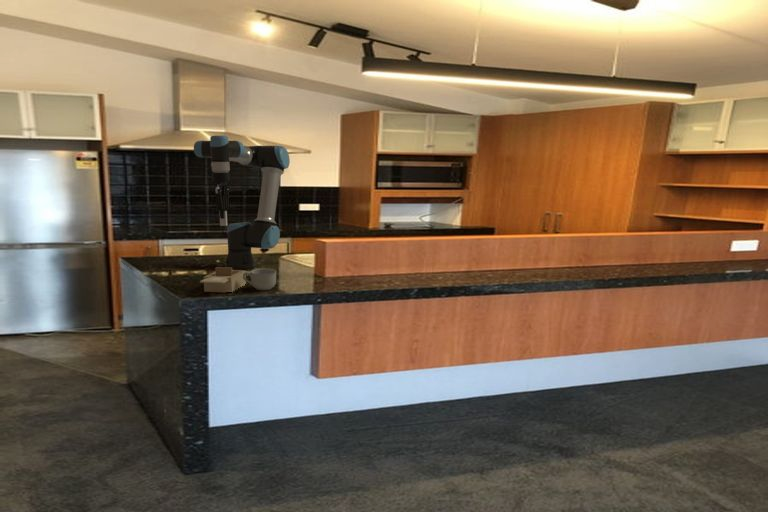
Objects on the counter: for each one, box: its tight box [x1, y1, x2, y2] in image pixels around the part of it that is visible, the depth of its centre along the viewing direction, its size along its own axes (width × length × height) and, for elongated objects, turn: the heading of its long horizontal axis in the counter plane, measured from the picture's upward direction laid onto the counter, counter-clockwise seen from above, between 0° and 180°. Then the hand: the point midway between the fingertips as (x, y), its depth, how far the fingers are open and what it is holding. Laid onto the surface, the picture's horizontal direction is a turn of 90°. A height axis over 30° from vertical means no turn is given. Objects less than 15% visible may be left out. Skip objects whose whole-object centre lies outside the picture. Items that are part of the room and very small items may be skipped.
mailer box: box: [203, 269, 247, 293], centre depth 227 cm, size 16×12×6 cm
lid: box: [199, 266, 233, 284], centre depth 219 cm, size 14×10×4 cm
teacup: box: [243, 268, 277, 291], centre depth 226 cm, size 14×11×8 cm
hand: (223, 225), depth 234 cm, fingers closed
